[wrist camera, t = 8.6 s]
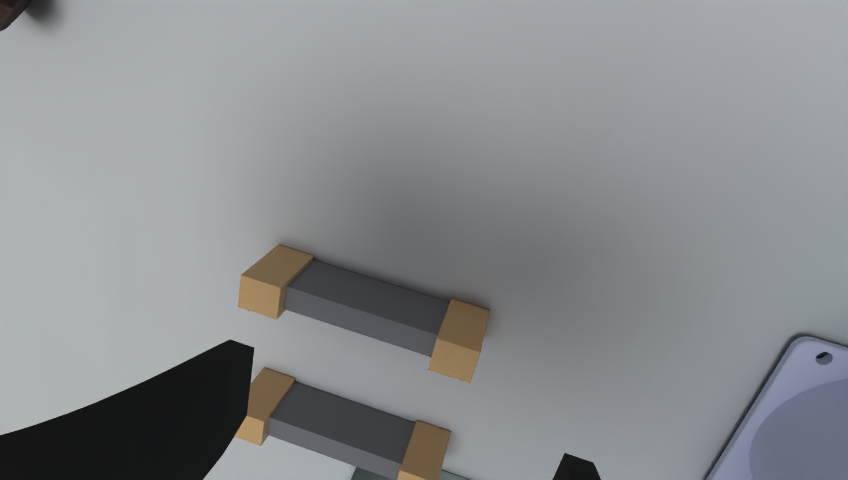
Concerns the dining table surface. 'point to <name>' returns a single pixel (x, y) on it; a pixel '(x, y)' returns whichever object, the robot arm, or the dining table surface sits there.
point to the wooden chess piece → (11, 11)
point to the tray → (361, 476)
